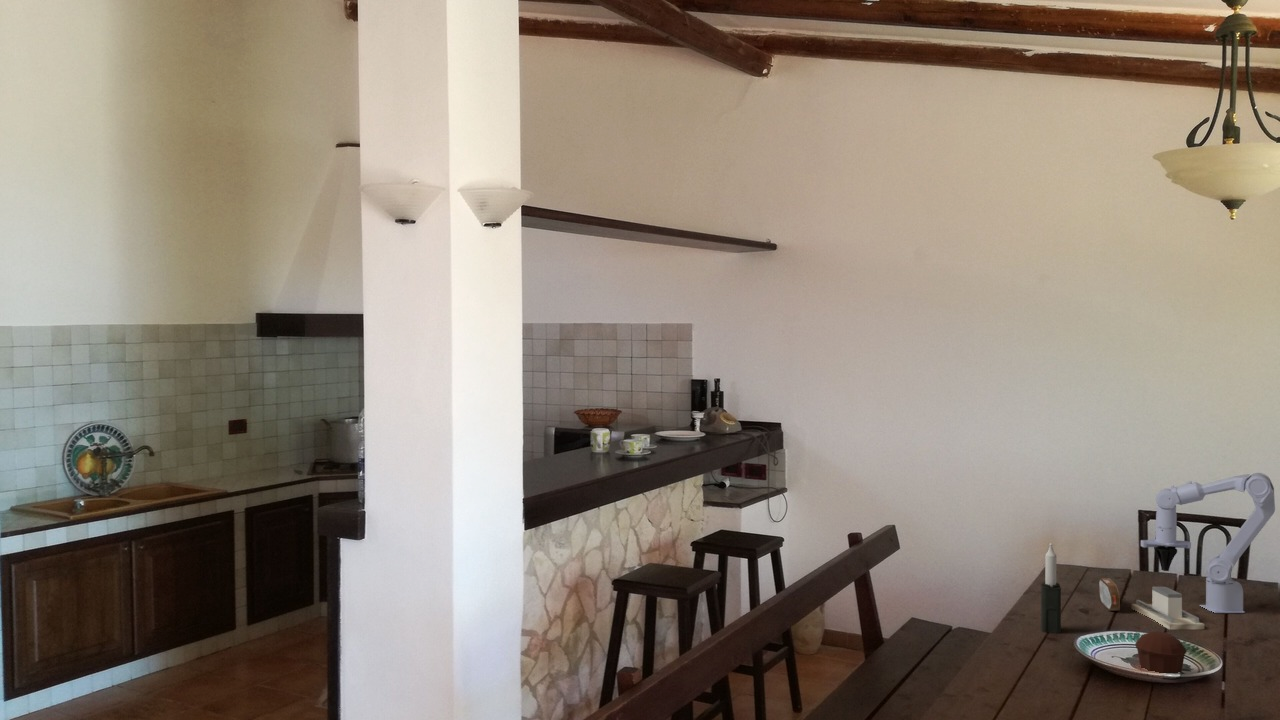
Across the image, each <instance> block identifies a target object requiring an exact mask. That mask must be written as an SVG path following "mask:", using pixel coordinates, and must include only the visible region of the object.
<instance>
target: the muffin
mask: <svg viewBox="0 0 1280 720" xmlns="http://www.w3.org/2000/svg"><path fill="white" fill-rule="evenodd" d="M1135 647H1136V649H1137V655H1138V661H1139V666H1140V665H1141V668H1145V669H1147V670H1148V671H1155V672H1159V673H1178V672H1181V673H1182V672H1183V671H1182V670H1183V666H1184V665H1183V664H1184V660H1185V655H1186V653H1187V649H1186V647H1185V646H1184V644H1183V643H1182V642H1181V640H1179V639H1178V638H1177V637H1176V636H1174V635H1173V634H1170V633H1167V632H1165V631H1161V630H1160V631H1156V630H1155V631H1149V632H1146V633H1144V634H1142V635H1141V636H1140V637H1139V638H1138V639H1137V640H1136V642H1135Z"/></svg>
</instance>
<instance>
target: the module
mask: <svg viewBox="0 0 1280 720" xmlns="http://www.w3.org/2000/svg"><path fill="white" fill-rule="evenodd" d="M1151 589H1152V590H1151V591H1152V593H1151V594H1152V595H1151V597H1152V599H1151V600H1152V602H1151V604H1152V607H1154V608H1156V609H1158V610H1160V611H1162V612H1164V613H1166V614H1168V615H1170V616H1171V617H1173V618H1182V610H1183V594H1182V593H1180V592H1179V591H1176V590H1174V589H1171V588H1169V587H1168V586H1152V588H1151Z"/></svg>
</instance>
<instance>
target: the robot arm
mask: <svg viewBox="0 0 1280 720" xmlns="http://www.w3.org/2000/svg"><path fill="white" fill-rule="evenodd" d="M1233 490H1235V491H1236V492H1237V491H1238V492H1241V493H1245V491H1246V492H1247V493H1248V495H1249V496H1250V497H1251V499H1252V500H1253V503H1254V510H1252V512H1251V513H1250V515H1249V516H1248V518H1247V519H1246V520H1245V521H1244V523H1243V524H1242V525H1241V527H1240V528H1239V529H1238V531H1236V533H1235V534H1234V536H1233V537H1232V538H1231V540H1230V541H1229V542H1228V544H1226V546H1225V547H1224V549H1223V550H1222V551H1221V552H1220V554H1218V555H1217V556H1215V557H1213V558H1212V559H1211V560H1210V561H1209V562H1208V566H1207V567H1206V574H1207V577H1206V578H1205V604H1199V607H1200V606H1201V608H1202V607H1203V609H1204V608H1205V609H1204V610H1206V609H1207V610H1206V611H1208V612H1211V611H1212V612H1211V613H1213V612H1214V614H1244V613H1246V611H1244V589H1243V586H1242V584H1241V583H1240V582H1239V581H1236V580H1234V579H1233V578H1232V577H1231V574H1232V572H1233V568H1234V567H1235V566H1236V563H1237V562H1238V561H1239V560H1240V558H1241V557H1242V555H1243V554H1244V553H1245V551H1246V550H1247V549H1248V547H1249V546H1250V545H1251V544H1252V543H1253V541H1254V540H1255V538H1256V537H1257V536H1258V535H1259V533H1260V532H1261V531H1262V529H1263V528H1264V527H1265V526H1266V524H1267V523H1268V521H1270V520H1271V517H1272V516H1273V515H1274V513H1275V511H1276V502H1275V487H1274V485H1273V482H1272V480H1271V479H1270V477H1269V476H1268V475H1266V474H1265V473H1262V472H1255V473H1252V474H1248V473H1247V474H1241V475H1235V476H1230V477H1228V478H1224V479H1220V480H1216V481H1213V482H1208V483H1205V484H1200V483H1198V482H1197V481H1196V482H1192V481H1191V480H1190V481H1187V482H1186V484H1182V485H1178V486H1177V485H1176V486H1174V485H1171V486H1170V487H1169V488H1163V489H1160V491H1158V493H1157V494H1156V496H1155V501H1156V512H1155V539H1141V540H1140V547H1142V548H1153V549H1154V551H1155V553H1156V556H1157V557H1158V560H1159V564H1160V568H1161V571H1164V572H1169V571H1170V567H1171V564H1172V562H1173V560H1174V558H1175V556H1176V555H1177V553H1178V549H1179V548H1180V549H1192V542H1190V541H1188V540H1177V526H1178V525H1177V524H1178V523H1177V521H1178V520H1177V519H1178V518H1177V517H1178V516H1177V505H1180V506H1182V505H1187V504H1191V503H1195V502H1199V501H1203V500H1204V498H1205V496H1206V495H1207V496H1208V495H1213V494H1217V493H1223V492H1227V491H1233ZM1177 548H1178V549H1177Z"/></svg>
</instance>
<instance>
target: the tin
mask: <svg viewBox="0 0 1280 720" xmlns="http://www.w3.org/2000/svg"><path fill="white" fill-rule="evenodd" d="M1098 586H1099V587H1098V588H1099V598H1100V602H1101V603H1102V605H1103V606H1104V607H1105V608H1106V609H1107V610H1108V611H1109V612H1120V609H1121V597H1120V591H1119V589H1118V586H1117V584H1116V583H1115V582H1114V581H1113V580H1112V579H1111V578H1110V577H1103V578H1102V577H1101V578H1100V579H1099V581H1098Z"/></svg>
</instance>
